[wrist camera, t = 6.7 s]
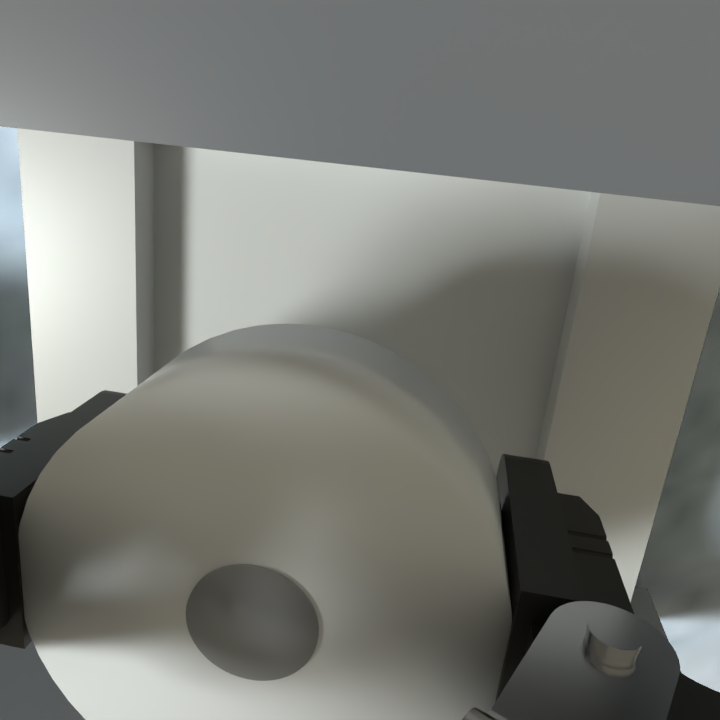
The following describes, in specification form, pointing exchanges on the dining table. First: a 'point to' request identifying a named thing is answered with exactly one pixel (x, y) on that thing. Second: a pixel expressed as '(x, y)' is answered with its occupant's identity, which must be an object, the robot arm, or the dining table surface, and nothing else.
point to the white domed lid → (271, 542)
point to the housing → (388, 84)
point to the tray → (377, 305)
